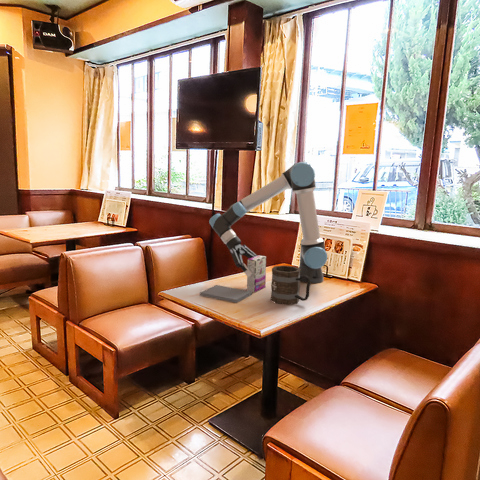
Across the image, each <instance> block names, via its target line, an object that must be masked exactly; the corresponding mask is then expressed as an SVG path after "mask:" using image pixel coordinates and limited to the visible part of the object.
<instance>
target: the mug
mask: <svg viewBox="0 0 480 480" xmlns="http://www.w3.org/2000/svg"><path fill="white" fill-rule="evenodd" d="M300 271H301V269H299V267H296V266H292V265H277V266H275V265H274V266H273V267H272V268H271V275H272V276H271V283H270V284H271V291H270V292H271V293H270V294H271V296H270V301H271V302H273V303H274V302H275V304H277V305H285V306H290V305H297V304H298V303H299V302H300V301H302V302H304V301H307V300H308V298H309V297H310V289H311V284H312V283H311V282H310V278H309V277H308V276H307V275H304V276H301V277H300ZM303 278H306V279H307V283H306V287H305V288H306V289H305V296H304V297H303V296H301V295H300V286H301V281H300V280H302V279H303Z"/></svg>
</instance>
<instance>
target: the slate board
mask: <svg viewBox="0 0 480 480" xmlns="http://www.w3.org/2000/svg"><path fill="white" fill-rule="evenodd" d="M252 294H253V292H252V291H247V289H246V290H245V289H239V288H235V287H229V286H224V285H218V284H215V285H214V286H212V287H209V288H207V289H205V290H203V291H200V292H199V296H201V297H206V298H210V299H215V300H219V301H226V302H231V303H234V304H238V303H239V302H241V301H242V300H244V299H246V298H247V297H250V296H252Z"/></svg>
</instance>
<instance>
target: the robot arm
mask: <svg viewBox="0 0 480 480" xmlns="http://www.w3.org/2000/svg"><path fill="white" fill-rule="evenodd" d="M315 171H316V170H315V168H314V167H313V165H311V164H310V163H309V162H307V161H299V162H296V163H294V164H293V165H291V166H290V167H289V168H288V169H286V170H285V171H283V172H282V173H281V175H280V176H279V177H277V178H275V179H274V180H273V181H270V182H269V183H268V184H266V185H264V186H262V187H261V188H259V189H257V190H255V191H254V192H252V193H250V194H249V195H247V196H246V197H245V196H244V198H242V199H240V200H239V201H236V203H233V204H231V205H230V206H229V208H228V209H227V210H226V211H224V213H222V214H220V212H219V213H216V214H214V215H213V216H211V217H210V219H209V221H208V222H209V223H208V224H209V225H210V226H211V228H212V230H213V231H214V232H215V233H216V234H217V235H218V237H219V238H220V239H221V241H222V242H223V244H225V246H226V248H228V250H229V254H230V256H231V257H232V260H233V262H234V265H235V267H237V268H238V269H241V270H242V272H243V273H244V274H245V276H247V277H248V278H249V277H250V276H251V275H252V273H251V271H250V270H249V269H248V267H247V265H246V264H245V263H244V261H243V256H244V257H246V258H248V259H250V258H253V257H256V256H258V255H257V254H256V253H255V252H254V251H252V250H251V249H250V248H249V247H248V246H247V245H246V244H241V243H242V240H241V239H240V238H239V236H237V234H236V232H235V231H234V230H233V228H232V226H233V225H234V224H235V223H236V222H238V221H239V220H240V219H241V218H243V217H244V216H245V215H246V214H247V213H248V212H250V211H252V210H254V209H255V208H257V207H259V206H260V205H263V204H264V203H266V202H267V201H269V200H271V199H273V198H274V197H276V196H278V195H279V194H281V193H283V192H285V191H287V190H288V189H289V190H292V192H293V193H294V194H295V195H296V201H297V207H298V214H299V220H300V226H301V232H302V239H301V240H300V254H299V266H298V268H299V269H301V271H300V277H301V276H304V275H307V276H308V277H309V278H310V282H311V283H310V284H317V283H322V282H324V273H323V270H322V267H323V266H325V264H326V263H327V261H328V253H327V251H326V246H325V241H324V238H322V237H321V235H320V227H319V222H318V220H319V219H318V215H317V214H318V213H317V207H316V201H315V194H314V191H315V189H316V188H317V187H316V179H315V177H316V172H315ZM247 277H246V278H247ZM300 283H306V284H307V279H306V278H303V279H302V280H300Z"/></svg>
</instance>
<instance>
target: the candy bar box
mask: <svg viewBox="0 0 480 480" xmlns="http://www.w3.org/2000/svg"><path fill="white" fill-rule="evenodd" d="M246 264H247V265H246V266H247V267H248V269H249V270H250V271H251V273H252V275H251V276H250V277H249V278H248V277H246V281H247V283H246V291H252V293H257V292H259V291H261V290H263V289H264V288H266V282H267V281H266V278H267V277H266V275H267V274H266V273H267V272H266V271H267V256H265V255H257V256H256V257H253V258H250V259H249V258H248V259H247V263H246Z"/></svg>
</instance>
